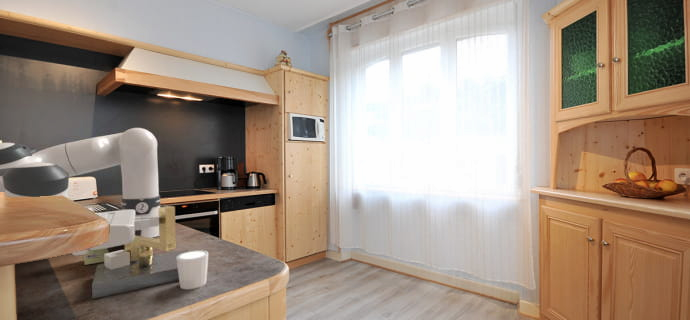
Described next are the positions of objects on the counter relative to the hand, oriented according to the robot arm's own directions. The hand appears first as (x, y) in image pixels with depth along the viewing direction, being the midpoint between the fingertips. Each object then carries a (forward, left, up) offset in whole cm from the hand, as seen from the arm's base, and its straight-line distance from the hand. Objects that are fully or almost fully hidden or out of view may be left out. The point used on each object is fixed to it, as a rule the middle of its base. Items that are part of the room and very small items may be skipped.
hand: (159, 220), depth 73 cm
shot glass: (+4, +6, -15) cm, 17 cm away
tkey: (-6, -2, -12) cm, 13 cm away
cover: (-11, -8, -12) cm, 18 cm away
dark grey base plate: (-7, -3, -15) cm, 17 cm away
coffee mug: (-23, -6, -15) cm, 28 cm away
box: (-29, -11, -15) cm, 34 cm away
